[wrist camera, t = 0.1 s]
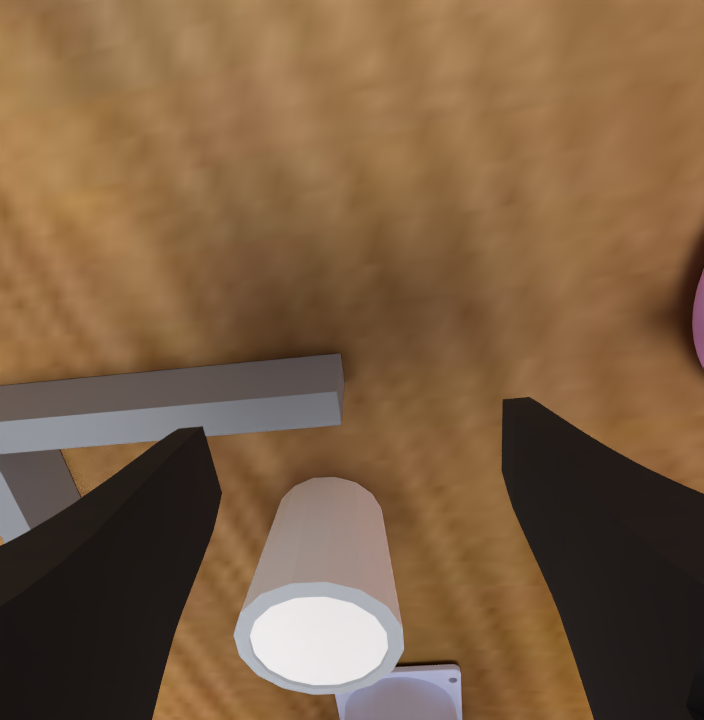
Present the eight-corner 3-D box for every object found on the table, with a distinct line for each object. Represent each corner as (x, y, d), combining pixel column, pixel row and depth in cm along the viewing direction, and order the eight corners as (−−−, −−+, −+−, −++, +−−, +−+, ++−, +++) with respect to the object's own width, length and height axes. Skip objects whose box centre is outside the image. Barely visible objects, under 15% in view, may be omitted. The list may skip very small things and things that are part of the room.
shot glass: (244, 537, 27) (206, 665, 20) (299, 445, 24) (277, 559, 18) (355, 582, 28) (353, 716, 21) (419, 500, 25) (438, 624, 19)
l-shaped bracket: (376, 620, 29) (378, 680, 26) (117, 636, 30) (88, 695, 27) (340, 353, 22) (336, 391, 19) (-1, 386, 23) (-60, 427, 20)
